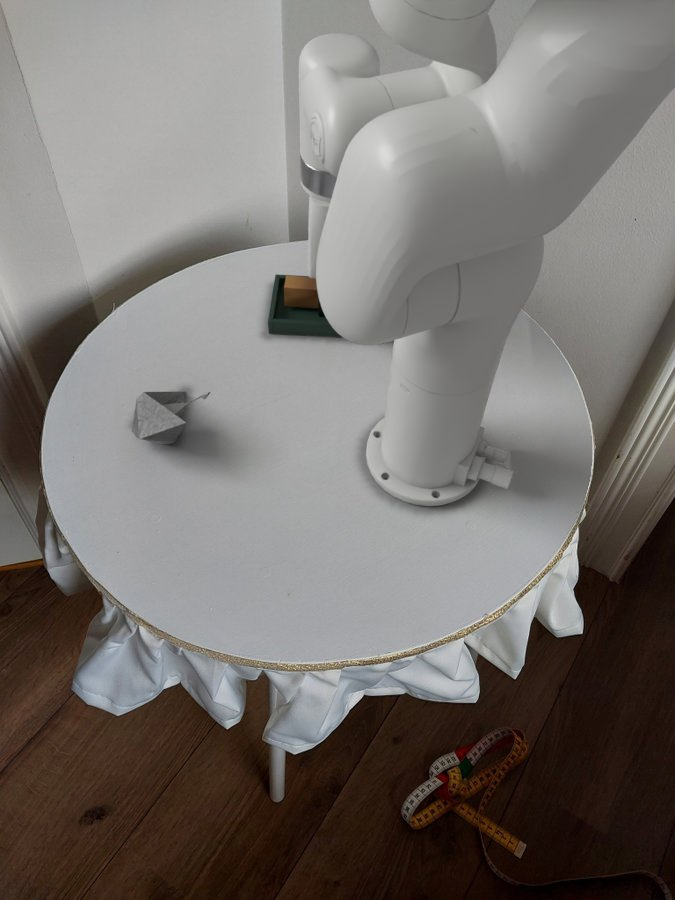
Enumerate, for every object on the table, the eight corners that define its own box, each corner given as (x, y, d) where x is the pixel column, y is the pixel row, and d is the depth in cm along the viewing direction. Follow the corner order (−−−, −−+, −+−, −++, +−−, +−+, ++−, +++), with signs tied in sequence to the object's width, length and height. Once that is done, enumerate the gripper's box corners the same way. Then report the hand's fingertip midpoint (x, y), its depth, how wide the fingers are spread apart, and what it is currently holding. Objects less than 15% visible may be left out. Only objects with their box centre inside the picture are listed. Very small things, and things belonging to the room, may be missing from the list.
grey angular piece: (119, 389, 81) (193, 352, 81) (149, 437, 84) (220, 401, 84) (112, 424, 70) (197, 381, 70) (146, 477, 73) (228, 435, 73)
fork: (283, 312, 89) (282, 293, 87) (288, 288, 92) (287, 269, 89) (393, 321, 89) (395, 302, 86) (394, 296, 91) (396, 278, 89)
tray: (409, 293, 93) (410, 281, 92) (409, 341, 88) (411, 329, 87) (276, 286, 94) (275, 274, 92) (268, 333, 88) (267, 321, 87)
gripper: (306, 123, 80) (307, 256, 95) (292, 217, 70) (296, 349, 85) (374, 127, 80) (365, 259, 95) (370, 221, 70) (360, 353, 85)
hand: (332, 300), depth 90 cm, fingers closed on fork, 4 cm apart
